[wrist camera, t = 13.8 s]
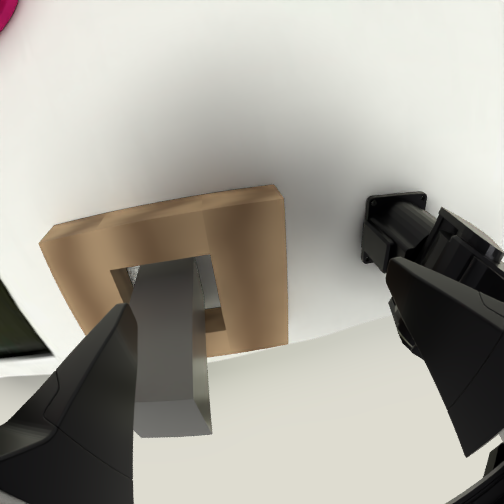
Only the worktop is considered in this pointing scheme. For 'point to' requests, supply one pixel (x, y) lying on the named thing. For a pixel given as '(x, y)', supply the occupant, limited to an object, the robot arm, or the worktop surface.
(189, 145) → the worktop surface
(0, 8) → the pepper mill
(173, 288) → the plug block
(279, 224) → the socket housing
